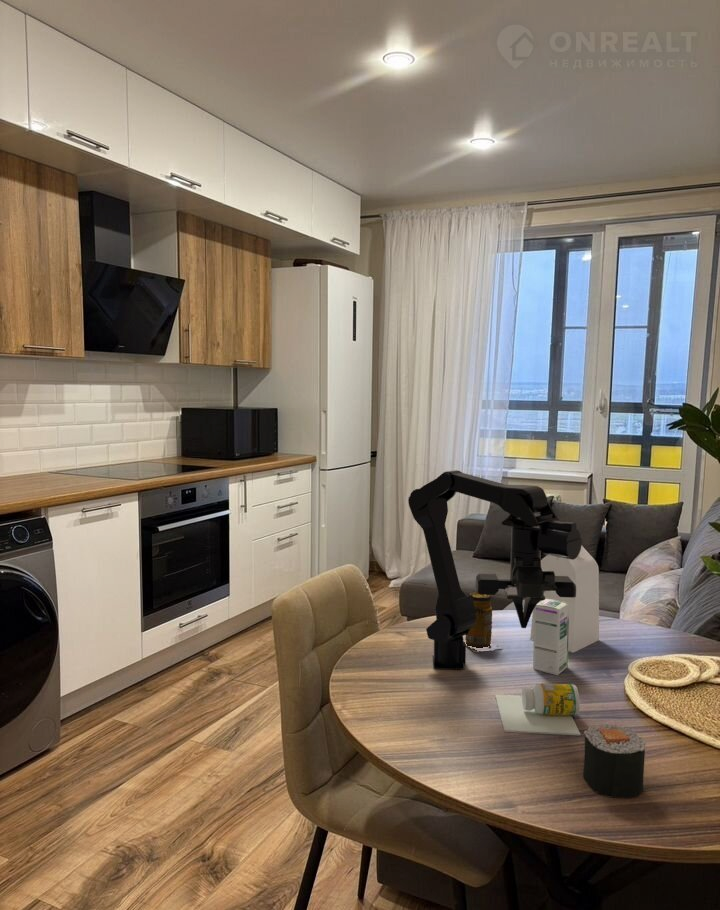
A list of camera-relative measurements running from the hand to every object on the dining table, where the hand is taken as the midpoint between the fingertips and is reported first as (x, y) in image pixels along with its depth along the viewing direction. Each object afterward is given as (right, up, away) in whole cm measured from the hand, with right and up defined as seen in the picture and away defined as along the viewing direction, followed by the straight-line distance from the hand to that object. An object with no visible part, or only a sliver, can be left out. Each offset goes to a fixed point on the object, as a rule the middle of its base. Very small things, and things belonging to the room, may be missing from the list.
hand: (523, 627), depth 132 cm
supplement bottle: (+8, -11, -9) cm, 16 cm away
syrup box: (+9, -12, +12) cm, 20 cm away
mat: (0, -14, -9) cm, 16 cm away
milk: (+17, -11, +30) cm, 36 cm away
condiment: (-4, -11, +26) cm, 28 cm away
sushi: (+6, -16, -30) cm, 35 cm away
